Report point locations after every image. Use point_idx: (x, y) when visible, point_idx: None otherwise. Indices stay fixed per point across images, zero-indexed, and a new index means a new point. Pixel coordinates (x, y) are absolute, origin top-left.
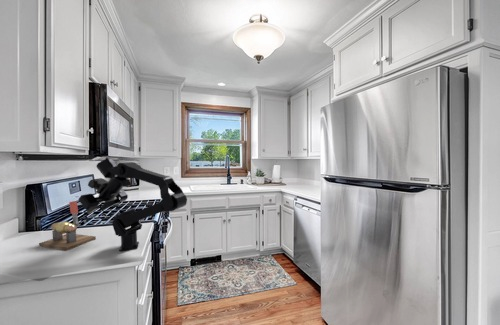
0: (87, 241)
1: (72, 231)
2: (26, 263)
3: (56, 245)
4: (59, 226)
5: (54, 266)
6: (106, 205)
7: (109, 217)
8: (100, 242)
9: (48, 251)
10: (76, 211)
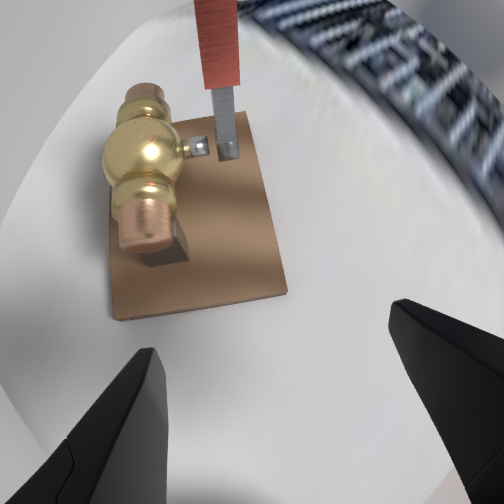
0: (231, 303)
1: (143, 252)
2: (11, 294)
3: (113, 233)
4: (104, 162)
5: (33, 432)
6: (444, 398)
7: (443, 72)
8: (272, 370)
9: (91, 239)
10: (224, 74)
